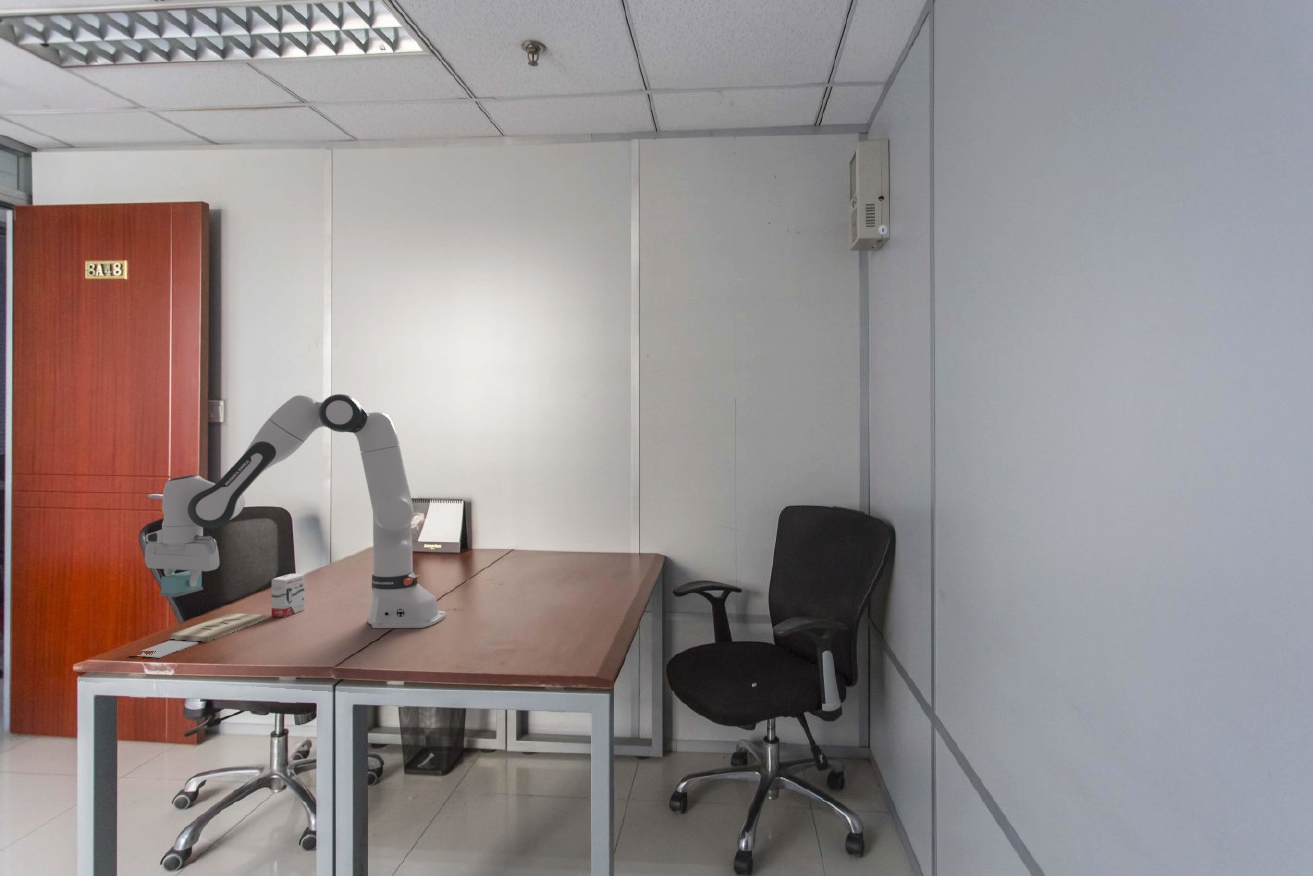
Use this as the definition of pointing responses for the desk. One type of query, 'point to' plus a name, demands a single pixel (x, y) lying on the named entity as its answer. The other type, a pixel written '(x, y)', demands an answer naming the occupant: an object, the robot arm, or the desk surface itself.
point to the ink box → (287, 595)
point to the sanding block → (179, 584)
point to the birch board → (217, 627)
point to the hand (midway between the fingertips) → (182, 585)
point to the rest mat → (167, 648)
